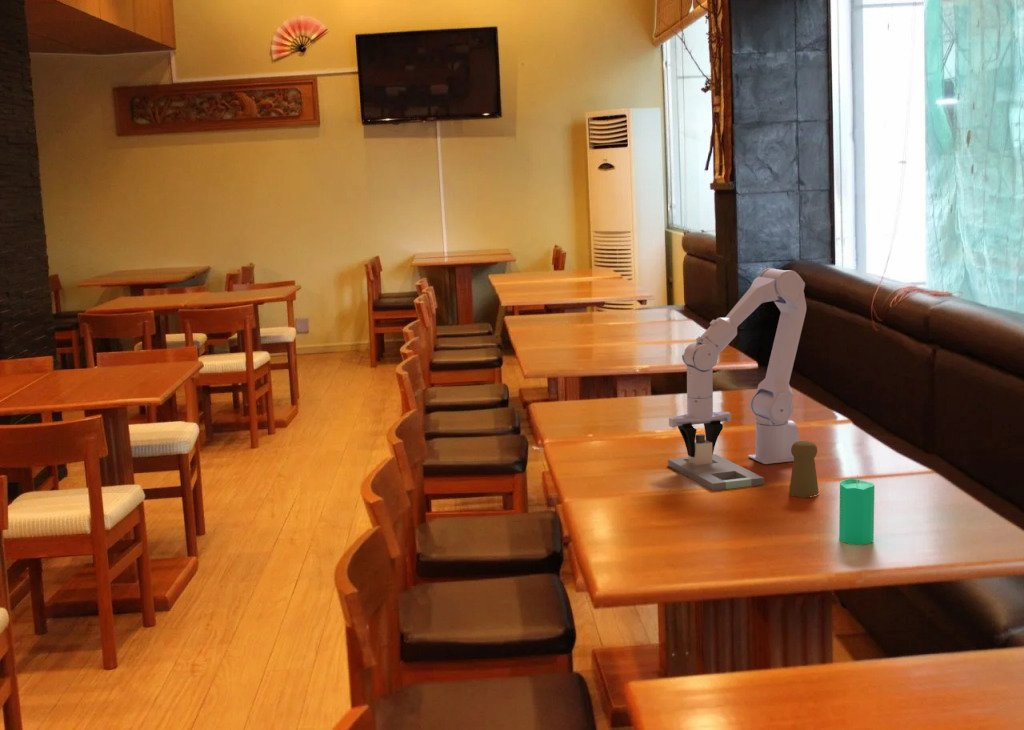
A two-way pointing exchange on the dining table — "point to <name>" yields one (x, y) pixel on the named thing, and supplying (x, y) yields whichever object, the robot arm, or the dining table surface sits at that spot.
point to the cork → (803, 470)
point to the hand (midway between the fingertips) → (700, 454)
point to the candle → (856, 512)
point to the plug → (701, 451)
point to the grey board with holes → (717, 473)
